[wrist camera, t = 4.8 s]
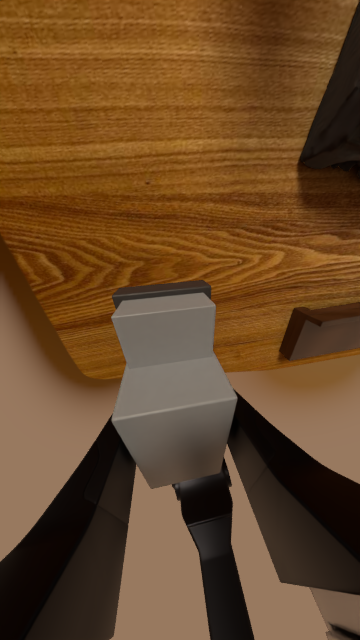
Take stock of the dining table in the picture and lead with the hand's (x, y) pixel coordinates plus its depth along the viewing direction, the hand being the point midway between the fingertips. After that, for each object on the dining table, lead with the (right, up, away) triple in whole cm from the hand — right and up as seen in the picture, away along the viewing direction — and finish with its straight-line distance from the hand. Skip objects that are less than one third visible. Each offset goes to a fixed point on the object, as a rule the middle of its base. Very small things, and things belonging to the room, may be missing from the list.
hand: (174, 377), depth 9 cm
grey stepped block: (0, +1, +1) cm, 2 cm away
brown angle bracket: (+28, +3, +15) cm, 32 cm away
